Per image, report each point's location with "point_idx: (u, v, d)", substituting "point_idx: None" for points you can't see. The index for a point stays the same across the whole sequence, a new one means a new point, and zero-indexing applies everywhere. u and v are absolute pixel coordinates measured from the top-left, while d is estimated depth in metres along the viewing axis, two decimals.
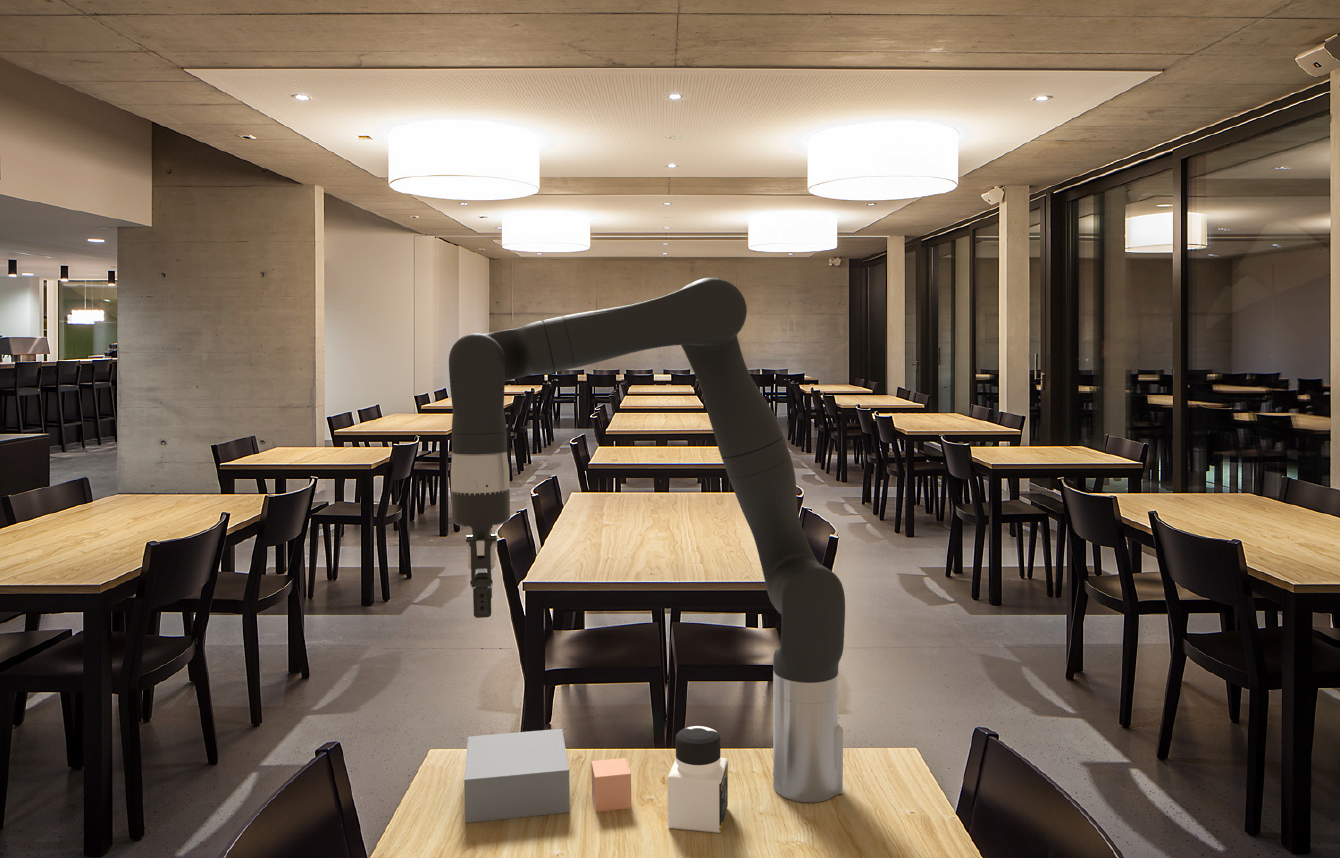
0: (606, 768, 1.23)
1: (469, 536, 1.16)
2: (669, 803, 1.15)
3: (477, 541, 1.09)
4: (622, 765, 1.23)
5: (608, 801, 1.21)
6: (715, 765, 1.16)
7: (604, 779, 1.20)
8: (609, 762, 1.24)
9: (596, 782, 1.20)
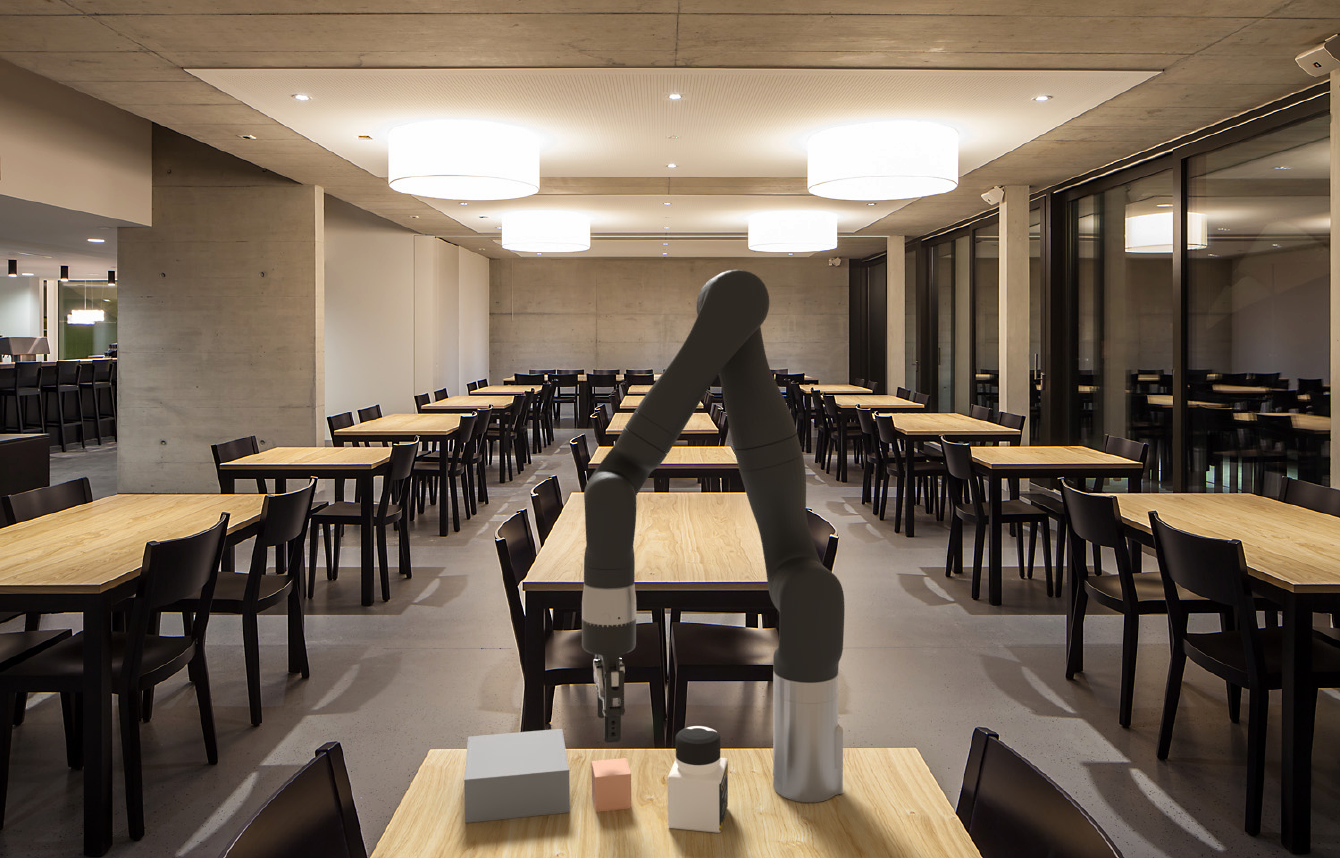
0: (606, 768, 1.23)
1: (596, 660, 1.22)
2: (669, 803, 1.15)
3: (612, 673, 1.15)
4: (622, 765, 1.23)
5: (608, 801, 1.21)
6: (715, 765, 1.16)
7: (604, 779, 1.20)
8: (609, 762, 1.24)
9: (596, 782, 1.20)
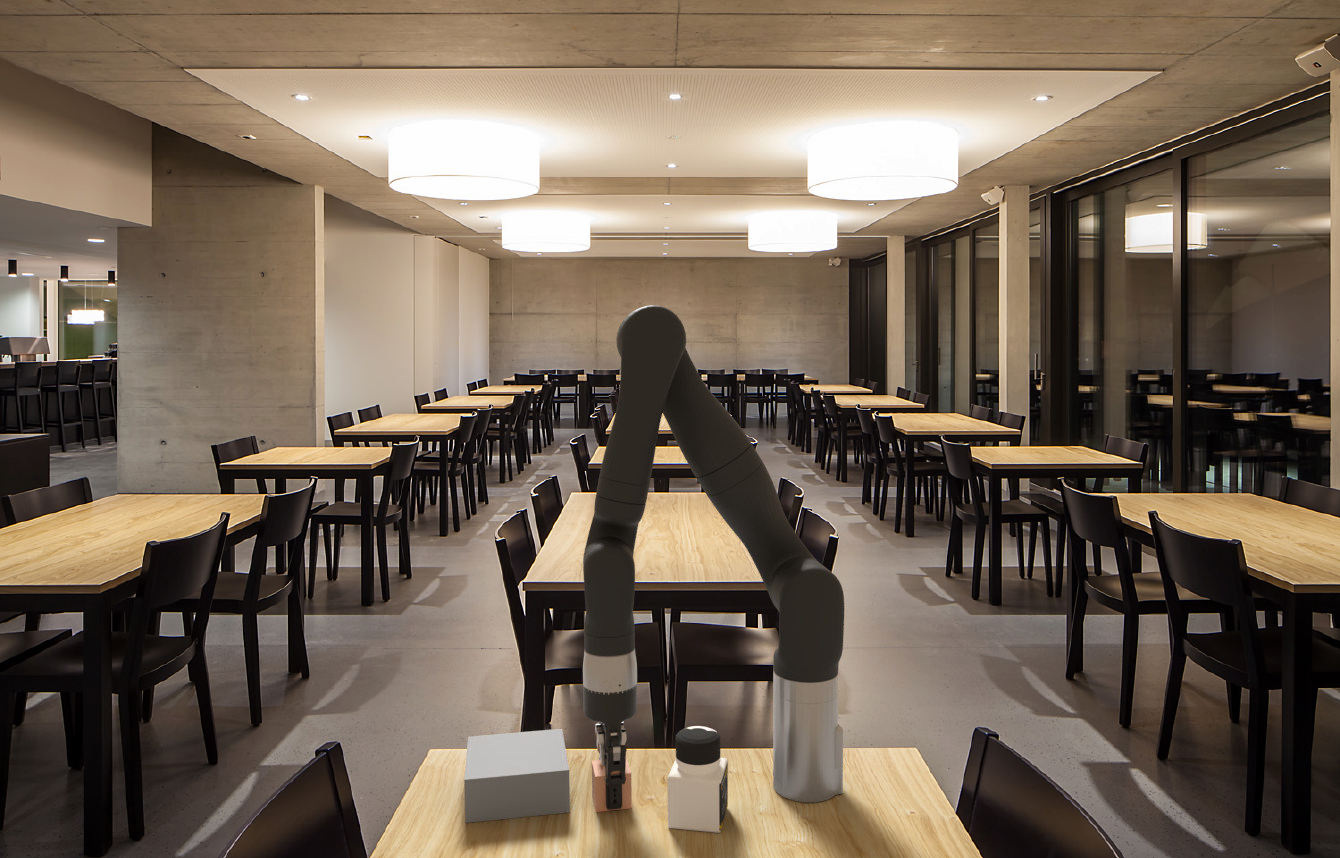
0: None
1: (598, 724, 1.23)
2: (669, 803, 1.15)
3: (614, 749, 1.16)
4: None
5: None
6: (715, 765, 1.16)
7: None
8: None
9: (596, 781, 1.20)
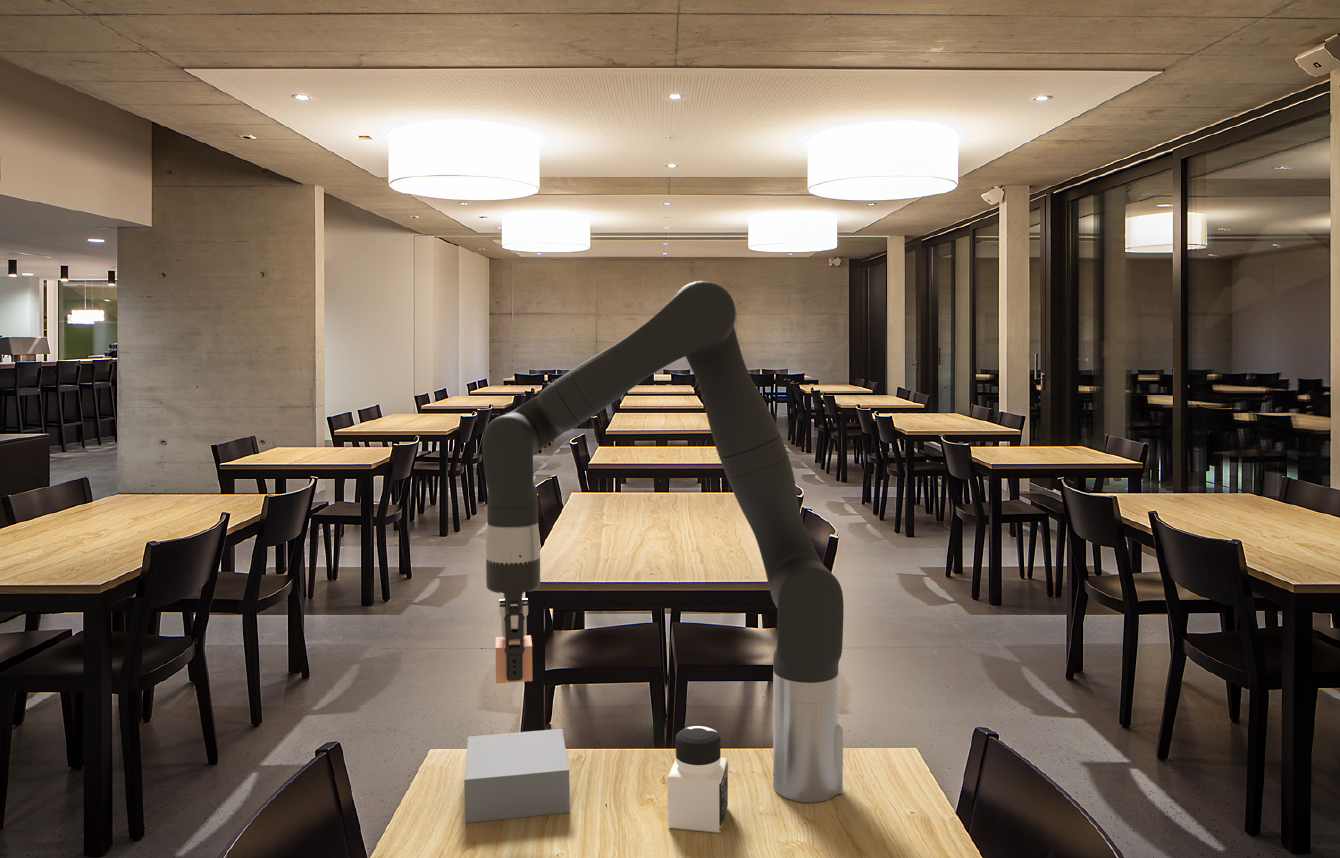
0: (509, 642, 1.24)
1: (502, 600, 1.24)
2: (669, 803, 1.15)
3: (511, 617, 1.17)
4: (525, 640, 1.24)
5: None
6: (715, 765, 1.16)
7: None
8: None
9: (497, 653, 1.21)
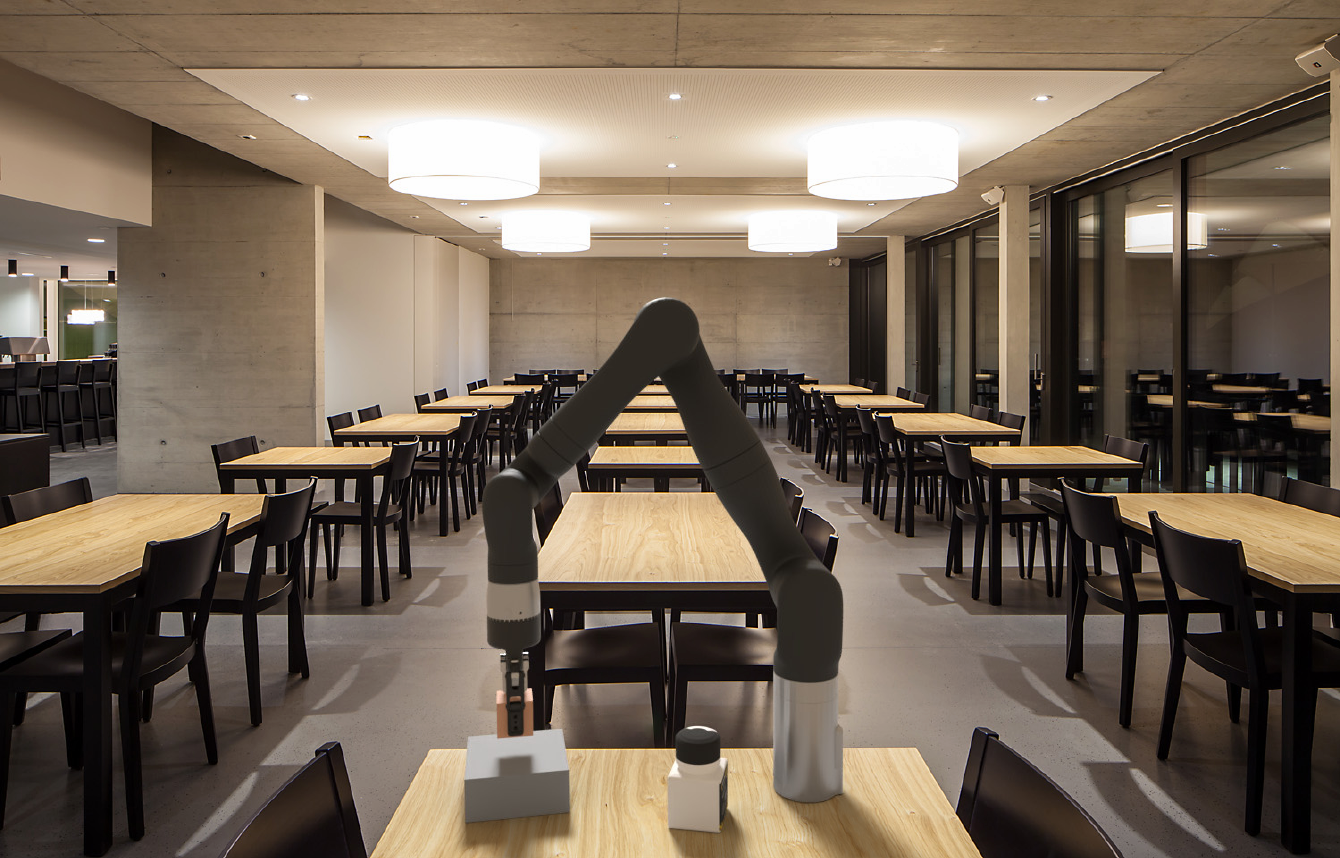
0: None
1: (502, 654, 1.25)
2: (669, 803, 1.15)
3: (512, 674, 1.18)
4: (526, 694, 1.25)
5: None
6: (715, 765, 1.16)
7: None
8: None
9: (498, 708, 1.22)
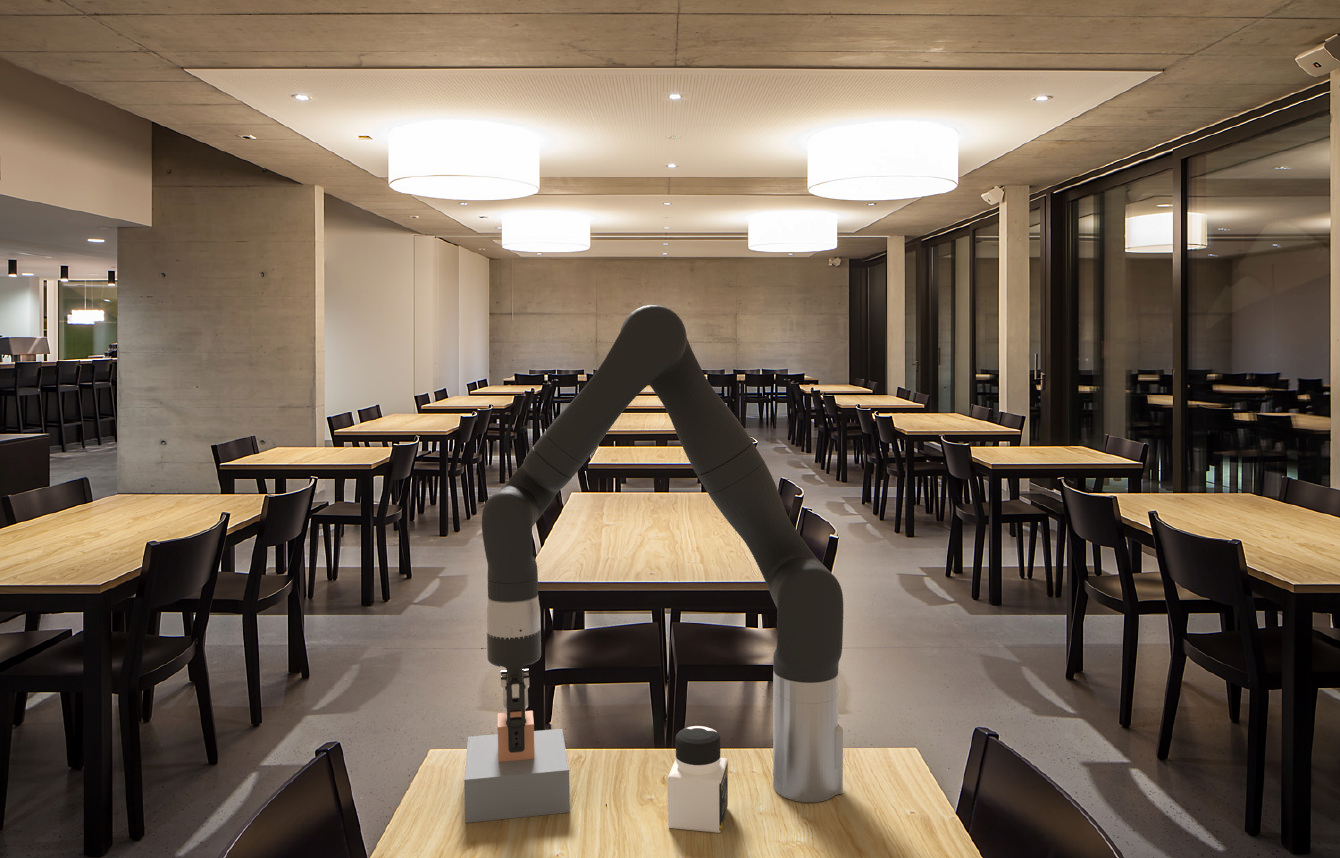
0: None
1: (503, 672, 1.25)
2: (669, 803, 1.15)
3: (512, 685, 1.18)
4: (527, 717, 1.25)
5: None
6: (715, 765, 1.16)
7: (506, 729, 1.22)
8: (515, 714, 1.26)
9: (499, 732, 1.22)
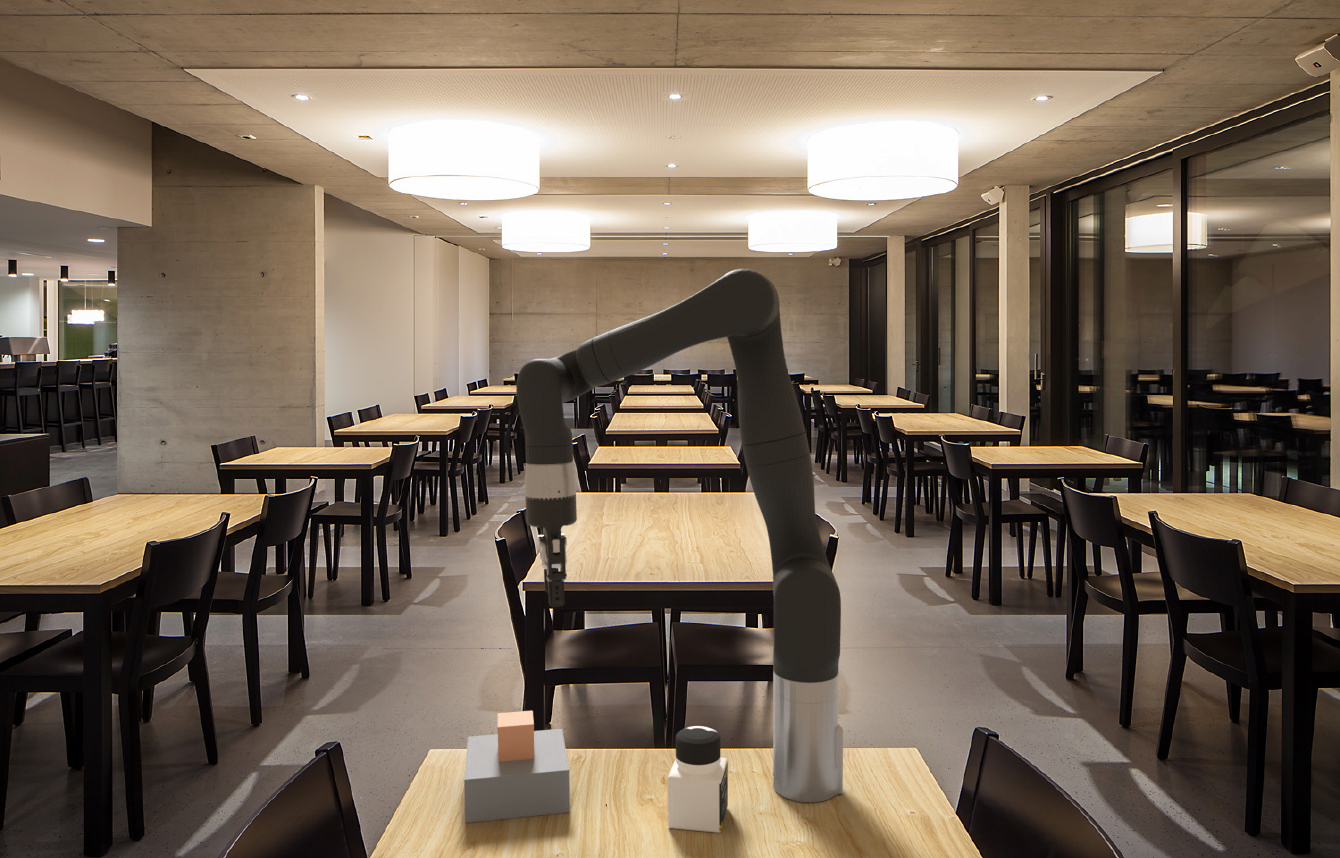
0: (511, 719, 1.25)
1: (540, 536, 1.32)
2: (669, 803, 1.15)
3: (553, 540, 1.25)
4: (527, 717, 1.25)
5: (511, 751, 1.23)
6: (715, 765, 1.16)
7: (506, 729, 1.22)
8: (515, 714, 1.26)
9: (499, 732, 1.22)
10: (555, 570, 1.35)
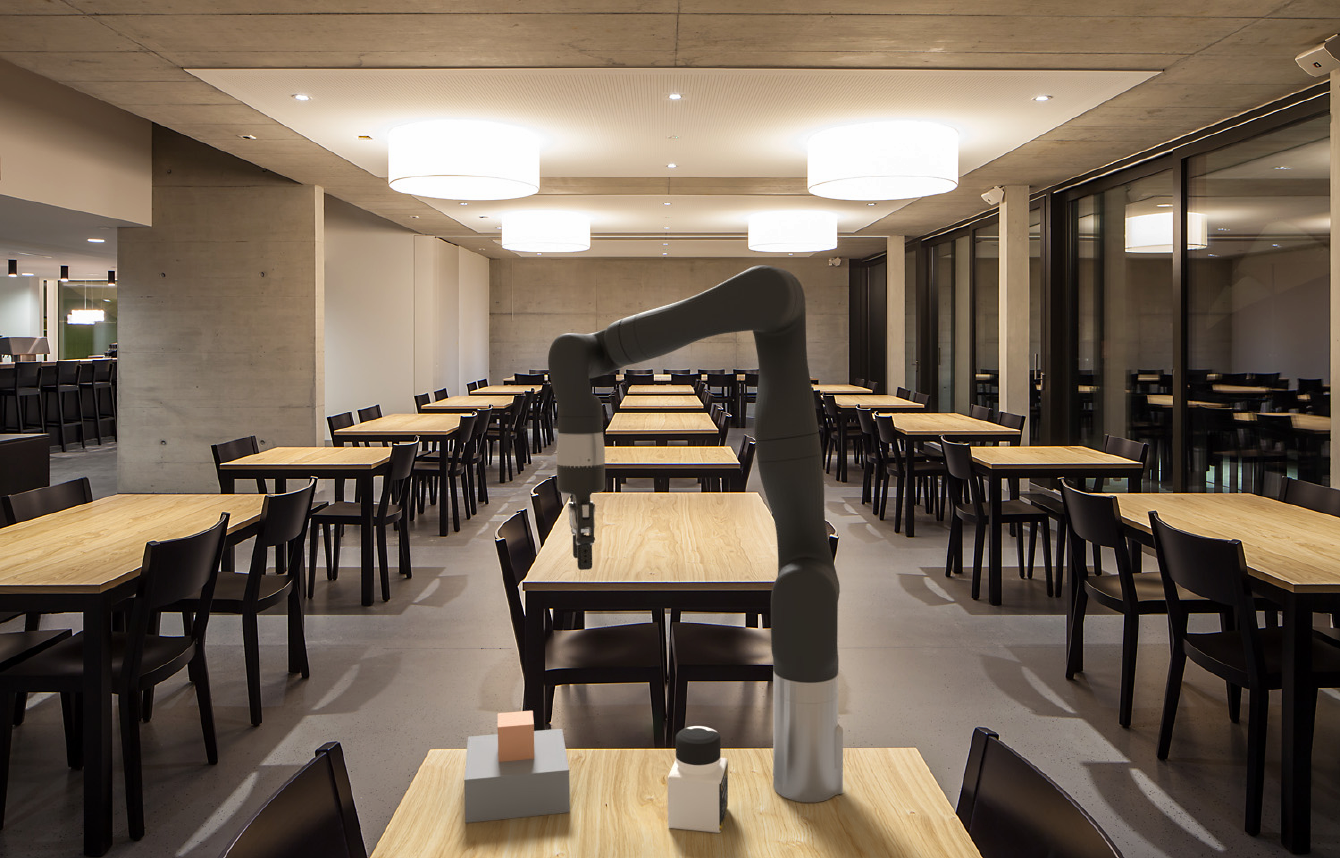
0: (511, 719, 1.25)
1: (570, 503, 1.38)
2: (669, 803, 1.15)
3: (583, 505, 1.31)
4: (527, 717, 1.25)
5: (511, 751, 1.23)
6: (715, 765, 1.16)
7: (506, 729, 1.22)
8: (515, 714, 1.26)
9: (499, 732, 1.22)
10: None
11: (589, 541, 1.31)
